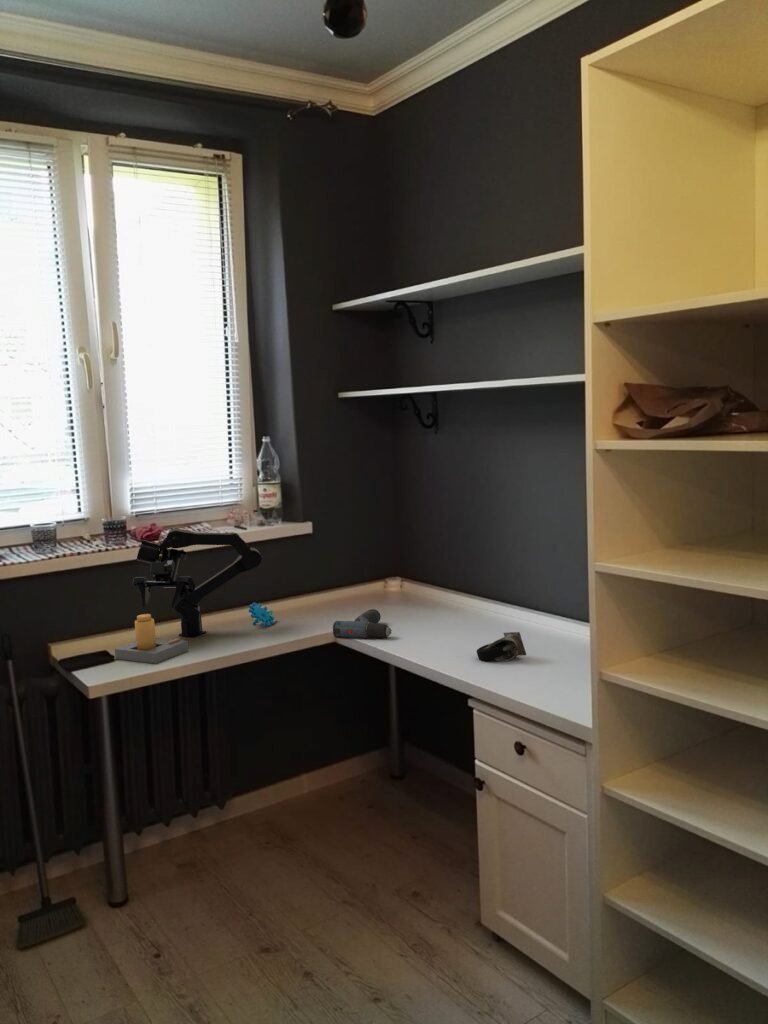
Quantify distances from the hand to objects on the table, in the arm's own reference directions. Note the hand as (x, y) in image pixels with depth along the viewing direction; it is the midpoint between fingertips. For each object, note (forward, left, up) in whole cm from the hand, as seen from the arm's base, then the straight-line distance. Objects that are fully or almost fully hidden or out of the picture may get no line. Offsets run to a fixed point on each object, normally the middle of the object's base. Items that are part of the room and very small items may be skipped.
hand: (158, 607), depth 268 cm
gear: (-33, +15, -13) cm, 38 cm away
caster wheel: (-20, +103, -13) cm, 106 cm away
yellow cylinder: (+9, +3, -12) cm, 16 cm away
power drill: (-36, +55, -13) cm, 67 cm away
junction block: (+8, +3, -12) cm, 15 cm away
